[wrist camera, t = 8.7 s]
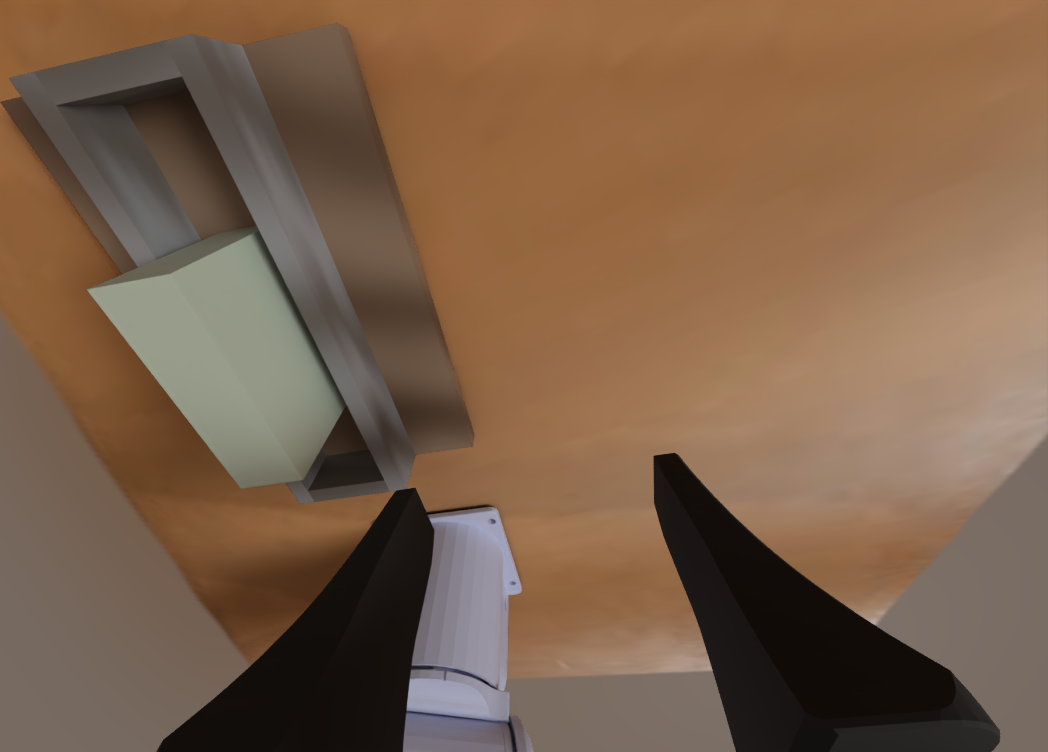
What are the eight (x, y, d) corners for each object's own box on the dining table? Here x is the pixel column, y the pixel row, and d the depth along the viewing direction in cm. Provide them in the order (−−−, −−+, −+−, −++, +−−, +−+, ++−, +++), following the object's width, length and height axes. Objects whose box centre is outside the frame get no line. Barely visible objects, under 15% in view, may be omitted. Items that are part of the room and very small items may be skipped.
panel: (355, 388, 21) (303, 479, 16) (307, 396, 21) (240, 488, 16) (276, 222, 16) (169, 273, 11) (217, 233, 17) (86, 289, 12)
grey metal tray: (474, 434, 24) (468, 481, 21) (274, 463, 25) (241, 511, 22) (347, 27, 14) (302, 8, 11) (28, 102, 15) (-90, 101, 12)
